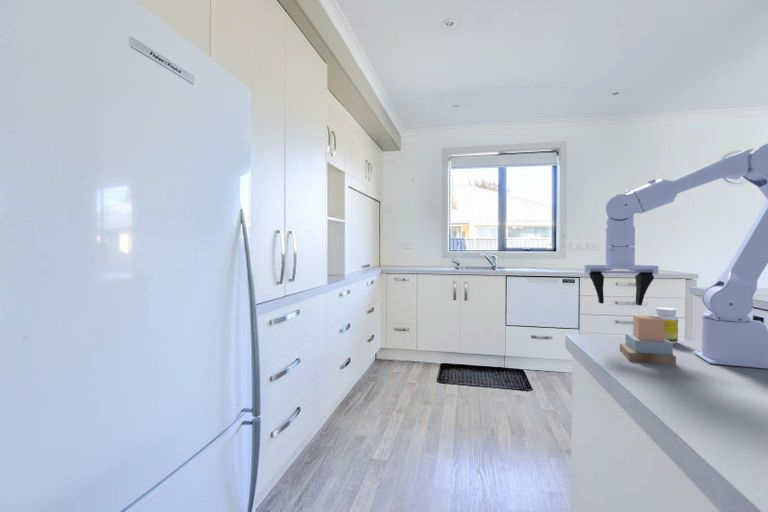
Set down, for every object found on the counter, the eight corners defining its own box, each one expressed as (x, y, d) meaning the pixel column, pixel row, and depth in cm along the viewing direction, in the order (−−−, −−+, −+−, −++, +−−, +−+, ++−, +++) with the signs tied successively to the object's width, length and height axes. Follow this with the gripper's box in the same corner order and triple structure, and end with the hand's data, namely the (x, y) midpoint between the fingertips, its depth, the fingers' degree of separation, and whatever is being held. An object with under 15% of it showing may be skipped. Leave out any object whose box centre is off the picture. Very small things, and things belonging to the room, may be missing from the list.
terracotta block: (657, 336, 78) (657, 316, 77) (664, 341, 73) (664, 320, 73) (633, 334, 79) (633, 314, 79) (638, 339, 75) (638, 318, 75)
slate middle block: (659, 346, 78) (659, 335, 78) (672, 355, 72) (672, 343, 72) (625, 344, 81) (625, 333, 80) (635, 352, 74) (635, 340, 74)
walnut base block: (662, 357, 79) (662, 346, 79) (675, 369, 71) (675, 356, 71) (619, 353, 82) (619, 343, 82) (628, 364, 74) (628, 352, 74)
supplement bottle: (682, 344, 86) (682, 310, 86) (660, 343, 87) (660, 309, 87) (670, 339, 91) (670, 307, 91) (649, 338, 92) (650, 306, 92)
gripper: (587, 247, 83) (587, 304, 83) (663, 246, 77) (662, 308, 78) (583, 247, 89) (583, 300, 90) (652, 246, 84) (652, 303, 84)
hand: (619, 303), depth 84 cm, fingers open, 7 cm apart
